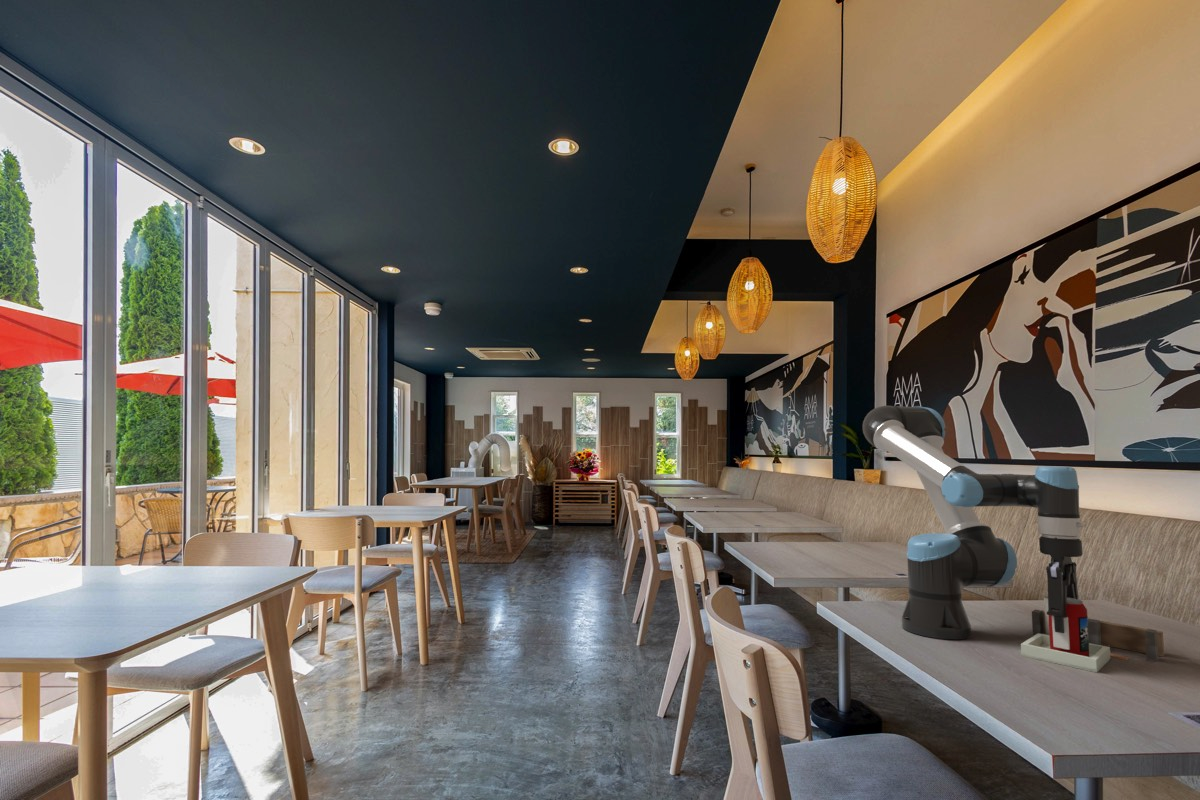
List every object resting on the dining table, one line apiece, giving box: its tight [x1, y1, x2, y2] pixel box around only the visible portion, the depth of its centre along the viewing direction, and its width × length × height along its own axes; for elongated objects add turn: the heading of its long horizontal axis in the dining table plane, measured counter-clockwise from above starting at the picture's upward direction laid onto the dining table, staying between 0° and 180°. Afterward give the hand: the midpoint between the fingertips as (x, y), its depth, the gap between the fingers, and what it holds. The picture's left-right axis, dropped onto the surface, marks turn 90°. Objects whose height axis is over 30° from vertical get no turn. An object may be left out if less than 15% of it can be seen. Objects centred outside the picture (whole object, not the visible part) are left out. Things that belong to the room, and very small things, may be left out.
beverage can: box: [1049, 597, 1089, 657], centre depth 132 cm, size 7×7×12 cm
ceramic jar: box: [1042, 590, 1080, 635], centre depth 145 cm, size 7×7×11 cm
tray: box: [1020, 633, 1112, 673], centre depth 133 cm, size 13×13×2 cm
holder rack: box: [1031, 609, 1165, 662], centre depth 140 cm, size 23×12×6 cm, turn 41°
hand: (1066, 644), depth 132 cm, fingers closed on beverage can, 7 cm apart
